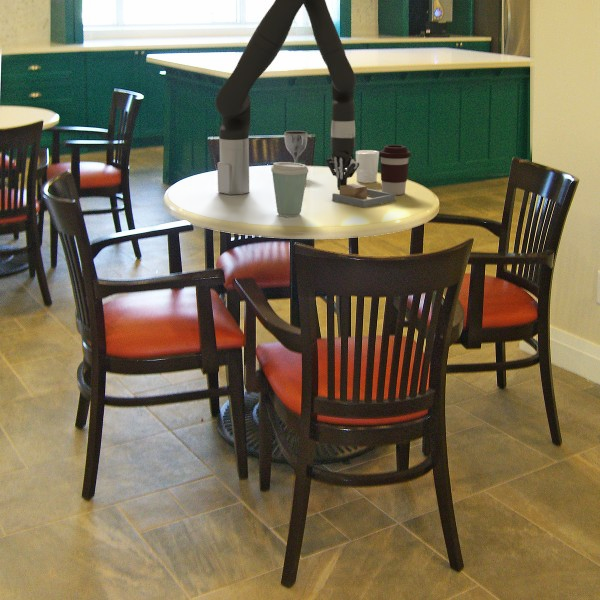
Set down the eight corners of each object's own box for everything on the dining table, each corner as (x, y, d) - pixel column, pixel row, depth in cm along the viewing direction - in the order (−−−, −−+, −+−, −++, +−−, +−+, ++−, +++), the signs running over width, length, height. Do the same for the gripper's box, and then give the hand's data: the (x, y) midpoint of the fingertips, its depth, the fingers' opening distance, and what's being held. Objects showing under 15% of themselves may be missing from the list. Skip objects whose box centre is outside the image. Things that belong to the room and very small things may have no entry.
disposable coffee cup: (287, 209, 261) (287, 158, 257) (316, 214, 255) (316, 162, 250) (263, 215, 254) (263, 163, 249) (292, 221, 247) (292, 167, 242)
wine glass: (307, 177, 309) (307, 133, 304) (284, 177, 309) (284, 133, 304) (307, 173, 316) (307, 130, 312) (284, 173, 316) (284, 130, 312)
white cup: (376, 183, 298) (377, 154, 295) (353, 182, 300) (354, 153, 296) (379, 179, 306) (380, 150, 302) (356, 178, 307) (357, 149, 304)
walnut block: (353, 201, 273) (353, 188, 272) (339, 198, 277) (339, 185, 276) (366, 198, 277) (367, 186, 276) (352, 195, 281) (353, 183, 280)
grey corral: (363, 207, 264) (363, 200, 263) (332, 200, 273) (332, 193, 273) (395, 200, 273) (395, 194, 272) (364, 194, 282) (364, 187, 282)
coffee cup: (413, 191, 286) (415, 145, 281) (403, 197, 277) (405, 149, 272) (384, 189, 290) (385, 143, 285) (373, 194, 281) (374, 147, 276)
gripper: (319, 133, 276) (318, 188, 282) (349, 138, 267) (348, 195, 273) (336, 131, 281) (335, 185, 287) (366, 136, 272) (365, 191, 277)
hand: (342, 190), depth 280 cm, fingers closed
